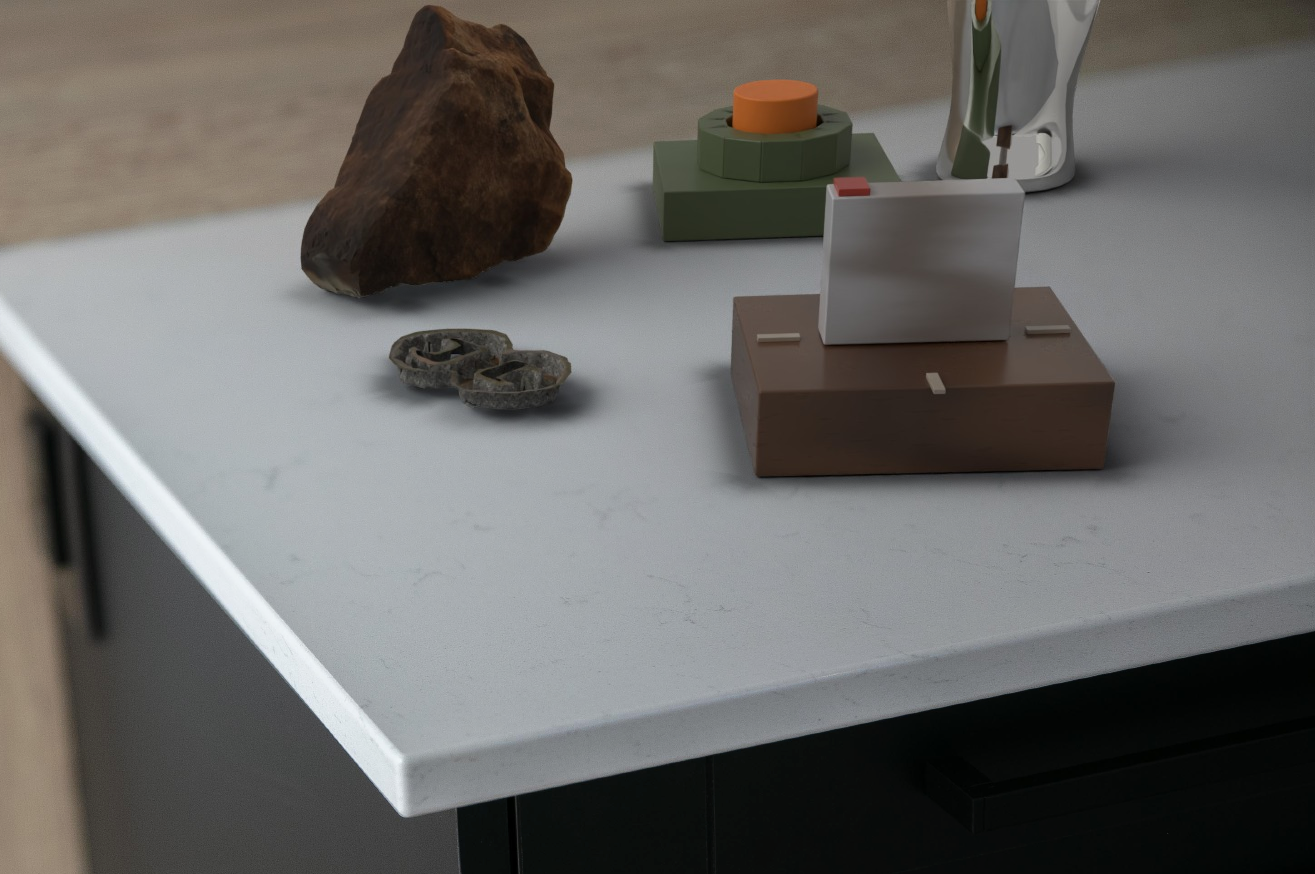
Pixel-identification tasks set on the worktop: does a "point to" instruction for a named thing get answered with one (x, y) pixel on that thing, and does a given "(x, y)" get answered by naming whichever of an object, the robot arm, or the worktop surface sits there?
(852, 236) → the tap handle
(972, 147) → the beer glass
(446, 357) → the corroded twin loop
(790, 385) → the block
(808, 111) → the button
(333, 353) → the worktop surface
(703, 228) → the button box
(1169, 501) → the worktop surface
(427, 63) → the decorative rock
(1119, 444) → the worktop surface
